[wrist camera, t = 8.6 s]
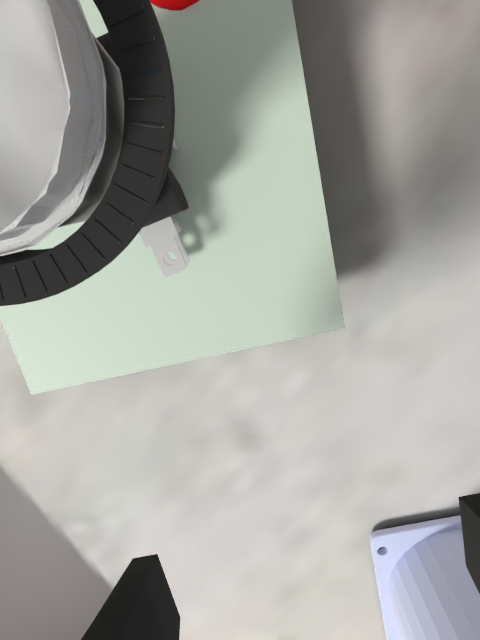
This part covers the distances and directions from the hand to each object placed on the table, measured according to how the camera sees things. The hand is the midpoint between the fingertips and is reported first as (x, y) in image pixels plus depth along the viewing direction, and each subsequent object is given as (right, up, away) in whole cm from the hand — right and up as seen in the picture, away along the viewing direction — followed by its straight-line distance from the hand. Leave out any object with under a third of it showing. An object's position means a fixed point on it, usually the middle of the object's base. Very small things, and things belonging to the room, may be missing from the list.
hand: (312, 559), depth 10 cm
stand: (-5, +11, +7) cm, 14 cm away
